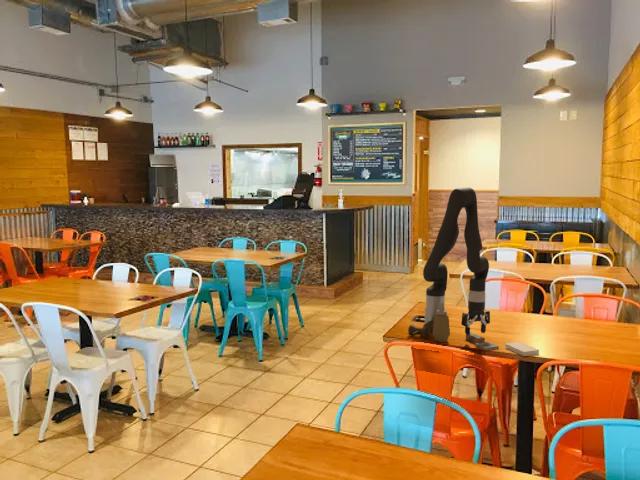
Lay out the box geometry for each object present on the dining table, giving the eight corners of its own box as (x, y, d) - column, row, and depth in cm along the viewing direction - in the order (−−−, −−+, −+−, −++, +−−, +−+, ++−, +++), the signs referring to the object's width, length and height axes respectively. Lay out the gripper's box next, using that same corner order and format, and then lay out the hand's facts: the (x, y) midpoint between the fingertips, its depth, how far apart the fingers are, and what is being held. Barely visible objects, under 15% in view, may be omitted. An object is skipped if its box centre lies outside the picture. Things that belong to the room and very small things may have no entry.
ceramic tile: (505, 343, 242) (524, 351, 231) (519, 341, 245) (538, 349, 234) (505, 348, 242) (523, 357, 231) (519, 346, 245) (538, 355, 234)
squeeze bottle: (428, 339, 255) (429, 301, 252) (443, 337, 257) (444, 300, 255) (438, 344, 247) (439, 305, 245) (453, 342, 250) (454, 304, 248)
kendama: (440, 333, 266) (422, 342, 250) (422, 330, 272) (403, 338, 256) (440, 321, 266) (422, 329, 250) (422, 318, 271) (403, 326, 256)
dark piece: (462, 339, 254) (462, 333, 254) (474, 338, 257) (474, 331, 256) (485, 350, 239) (485, 344, 238) (498, 348, 241) (498, 342, 241)
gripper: (484, 296, 255) (482, 330, 257) (458, 299, 249) (457, 333, 251) (494, 300, 248) (493, 334, 250) (469, 302, 242) (467, 337, 245)
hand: (475, 333), depth 251 cm, fingers open, 8 cm apart
